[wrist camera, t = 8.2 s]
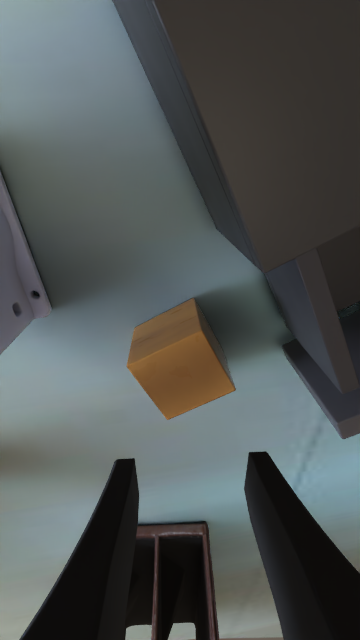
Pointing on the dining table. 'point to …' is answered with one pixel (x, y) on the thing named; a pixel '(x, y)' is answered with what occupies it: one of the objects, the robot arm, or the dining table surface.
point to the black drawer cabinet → (261, 113)
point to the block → (179, 360)
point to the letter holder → (172, 580)
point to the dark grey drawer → (324, 325)
